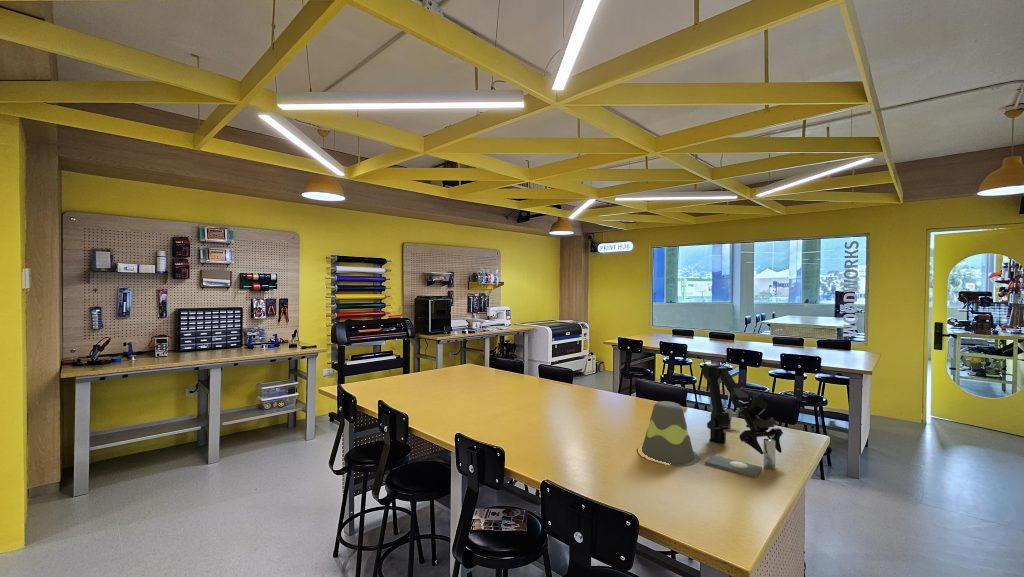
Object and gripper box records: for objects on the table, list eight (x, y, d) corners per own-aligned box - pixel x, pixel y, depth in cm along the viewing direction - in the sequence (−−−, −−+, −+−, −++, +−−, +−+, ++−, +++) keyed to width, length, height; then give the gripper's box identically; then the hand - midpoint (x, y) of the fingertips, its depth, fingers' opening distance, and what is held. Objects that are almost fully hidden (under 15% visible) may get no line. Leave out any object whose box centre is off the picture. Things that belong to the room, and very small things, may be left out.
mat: (704, 464, 188) (704, 461, 188) (712, 457, 196) (712, 454, 196) (755, 477, 174) (755, 474, 175) (761, 469, 183) (761, 466, 183)
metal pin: (762, 467, 184) (762, 440, 185) (764, 464, 188) (764, 437, 188) (774, 470, 182) (774, 442, 182) (776, 467, 185) (776, 440, 185)
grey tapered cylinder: (708, 453, 201) (708, 403, 201) (685, 472, 180) (686, 415, 180) (652, 439, 219) (652, 393, 220) (626, 454, 199) (626, 403, 199)
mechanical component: (739, 428, 237) (739, 410, 237) (720, 427, 239) (720, 409, 239) (738, 427, 240) (738, 409, 240) (718, 425, 242) (718, 408, 242)
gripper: (744, 412, 187) (763, 446, 176) (779, 410, 191) (801, 443, 180) (731, 424, 195) (749, 458, 184) (766, 422, 198) (785, 454, 187)
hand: (771, 453), depth 183 cm, fingers open, 9 cm apart
